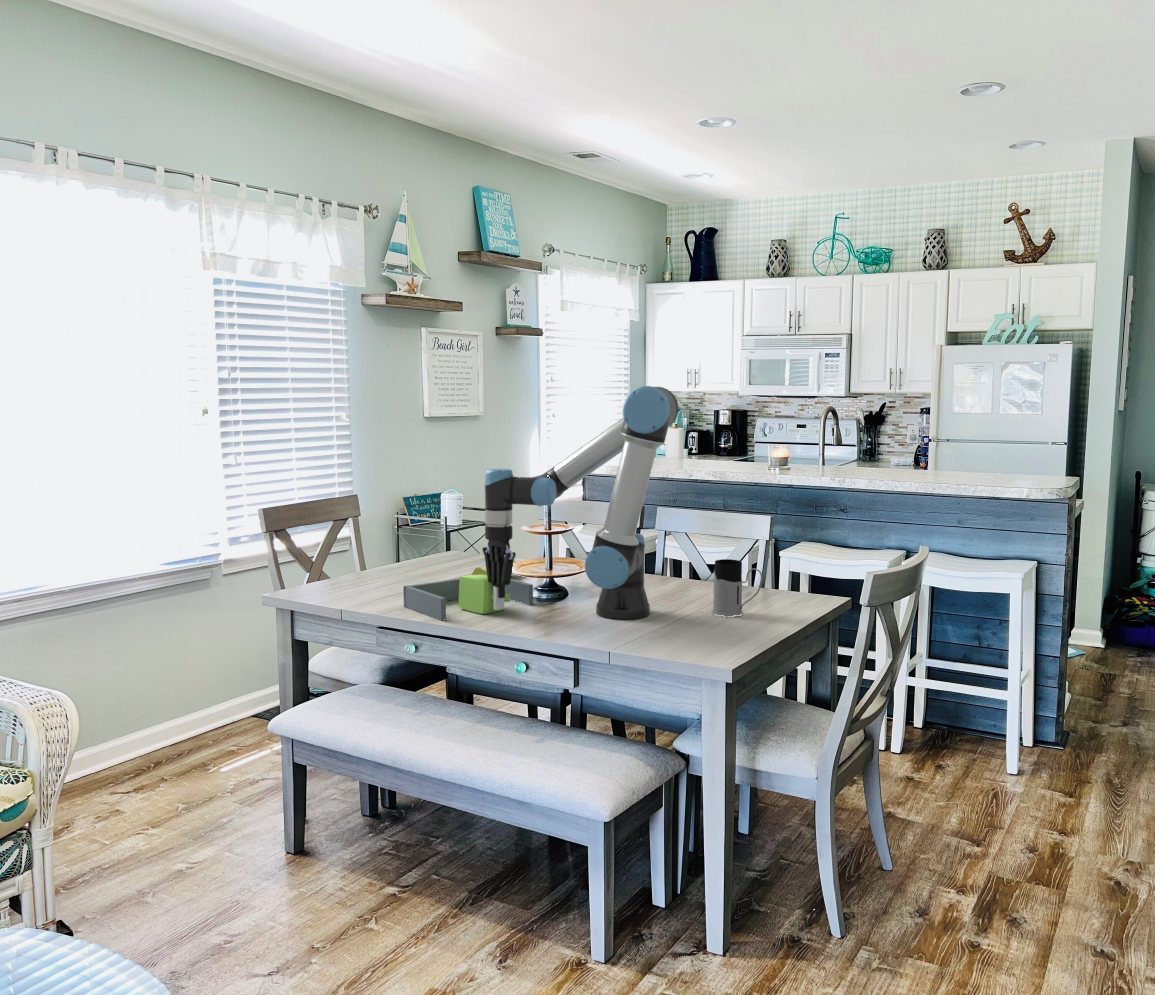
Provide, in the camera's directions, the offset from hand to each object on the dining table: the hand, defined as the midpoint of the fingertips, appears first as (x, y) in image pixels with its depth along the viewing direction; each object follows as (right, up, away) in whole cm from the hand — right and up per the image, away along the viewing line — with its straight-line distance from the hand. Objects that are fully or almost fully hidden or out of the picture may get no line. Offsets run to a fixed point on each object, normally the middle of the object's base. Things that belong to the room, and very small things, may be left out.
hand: (498, 608), depth 261 cm
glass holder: (+67, -2, +3) cm, 67 cm away
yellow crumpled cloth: (-5, +3, +51) cm, 51 cm away
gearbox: (-4, -1, +8) cm, 9 cm away
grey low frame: (-10, -1, +13) cm, 16 cm away
